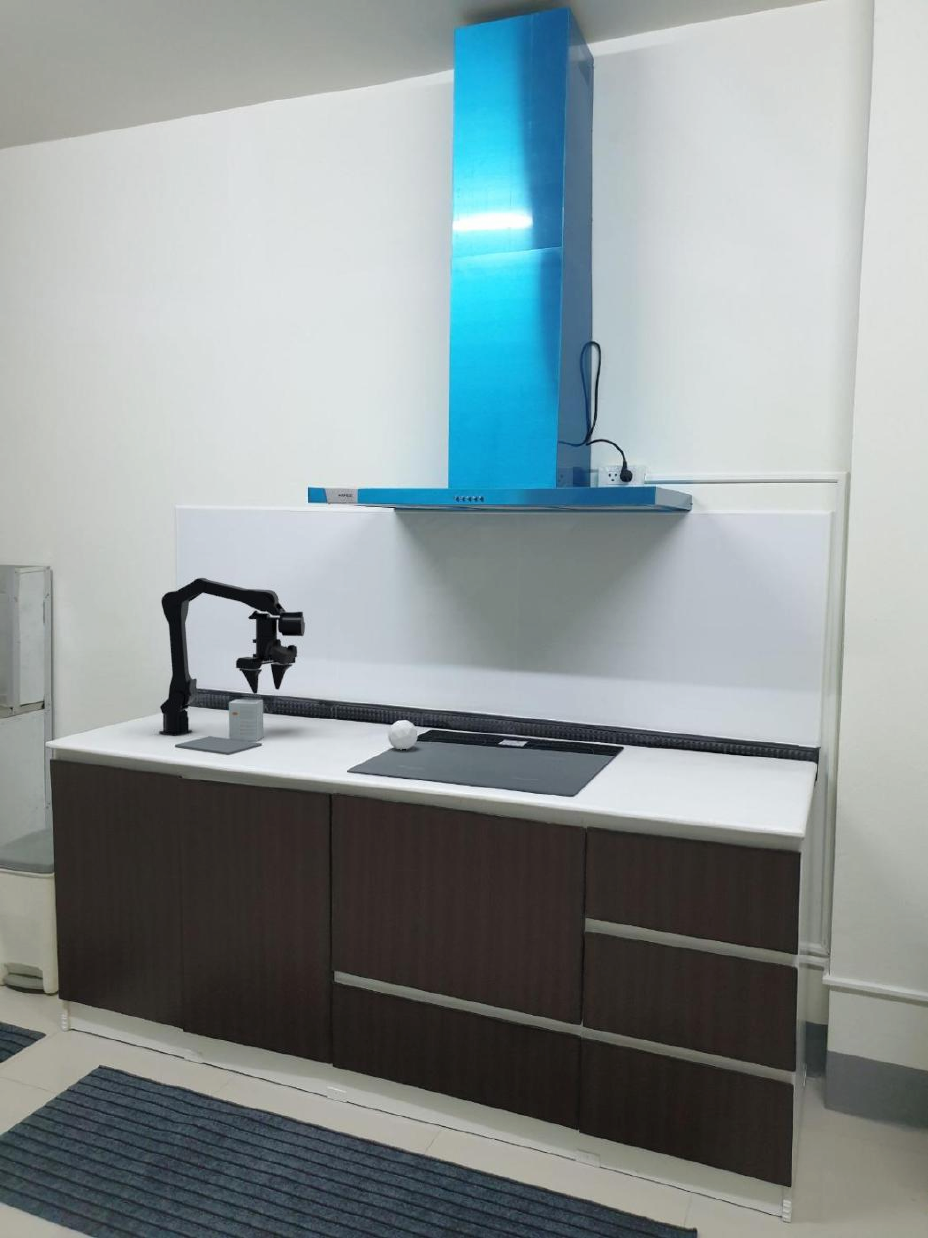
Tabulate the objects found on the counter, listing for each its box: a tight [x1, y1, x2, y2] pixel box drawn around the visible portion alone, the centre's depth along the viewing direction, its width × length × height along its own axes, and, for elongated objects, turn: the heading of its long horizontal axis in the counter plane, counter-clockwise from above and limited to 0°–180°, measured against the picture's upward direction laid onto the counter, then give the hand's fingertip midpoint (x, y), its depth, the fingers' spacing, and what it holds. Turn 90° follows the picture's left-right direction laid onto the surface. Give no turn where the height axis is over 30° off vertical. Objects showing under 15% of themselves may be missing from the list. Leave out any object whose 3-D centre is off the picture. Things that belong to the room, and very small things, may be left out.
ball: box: [387, 719, 418, 751], centre depth 251 cm, size 8×8×8 cm
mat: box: [174, 735, 263, 756], centre depth 251 cm, size 18×13×1 cm
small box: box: [228, 698, 265, 742], centre depth 261 cm, size 8×6×10 cm
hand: (266, 691), depth 267 cm, fingers open, 9 cm apart
